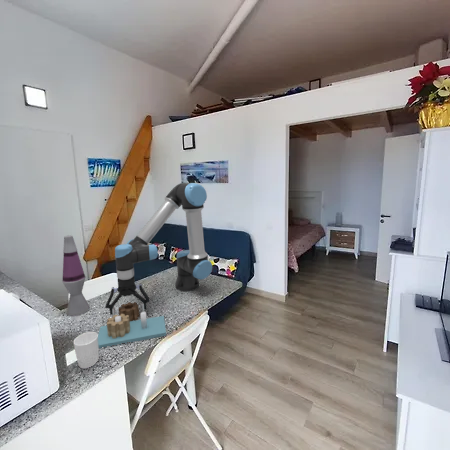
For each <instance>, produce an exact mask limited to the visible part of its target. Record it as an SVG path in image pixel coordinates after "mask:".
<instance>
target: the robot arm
mask: <svg viewBox="0 0 450 450" xmlns="http://www.w3.org/2000/svg"><path fill="white" fill-rule="evenodd" d="M207 197H208V195H207V191H206V188H205V187H204V186H203V185H201V184H199V183H195V182H181V183H178V184H177V185H175V186H174V187H173V188H172V189H170V192H169V193H168V194H167V195H165V197H164V201H163V202H162V204H161V205H160V206H159V207H158V209H157V210H156V211H155V212H154V213H153V215H152V216H151V217H150V219H149V220H148V221H147V222H146V223H145V225H144V226H143V227H142V228H141V230H140V231H139V232H138V233H137V235H136V236H134V238H132V239H130V240H128V241H127V243H126V244H125V243H122V244H119V245H116V247H115V248H114V254H115V255H114V257H115V266H116V277H117V287H114V286H112V287H111V289H110V294H109V297H108V299H107V300H106V301H107V302H106V303H105V305H104V308H105V309H109V314H110V316H112V317H113V316H114V315H116V307H115V305H116V304H117V303H118V302H119V301H120V299H121V298H122V297H129V296H134V297H135V298H137V300H139V301H140V302H141V307H142V312H145V310H147V303H150V301H151V299H150V296H149V295H148V294H147V292H146V291H145V289H144V288H143V284H142V283H139V284H137V285H136V280H135V267H134V264H138V263H142V262H148V261H152V260H155V259H157V258H158V256H159V255H158V254H159V251H158V247H157V245H155V244H154V243H153V244H150V242H151V241H152V239H153V238H154V237H155V236H156V234H157V233H158V232H159V231H160V230H161V228H163V225H164V224H165V223H166V222H167V220H169V218H170V217H171V215H173V213H174V212H175V210H178V209H180V207H182V209H181V210H183V211H184V212H185V219H186V229H187V239H188V249H185V250H180V251H178V252H177V253H176V258H175V259H176V268H177V270H176V272H177V275H176V279H175V284H174V285H175V286H174V288H175V289H176V290H178V291H181V292H191V291H195V290H196V289H198V288H199V287H200V280H204V279H207V278H208V277H209V276H210V274H212V271H213V263H212V262H211V261H210V260H209V255H208V253H207V252H206V250H205V241H204V226H203V217H202V215H203V213H202V211H203V209H204V205H205V203H206V201H207ZM137 290H139V291H140V293H138V292H137ZM116 292H118V294H117V296H116V297H115V298H114V300H112V299H113V297H114V294H115V293H116ZM141 294H142V295H143V296H142V295H141ZM111 301H112V302H111Z"/></svg>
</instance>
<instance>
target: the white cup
mask: <svg viewBox="0 0 450 450" xmlns="http://www.w3.org/2000/svg"><path fill="white" fill-rule="evenodd" d="M98 334H99V333H98V332H95V331H87V332H84V333H81V334H80V335H78V336H77V337H75V338H74V340H73V347H74V352H75V355H76V356H75V357H76V360H77V364H78V367H79V368H80V369H84V370H85V369H89V367H90V368H91V366H92V367H93V365H94V364H95V363H96V362H97V361H98V362H99V360H98V359H100V355H99V351H100V349H99V345H98ZM98 362H97V363H98ZM97 363H96V364H97ZM96 364H95V365H96ZM95 365H94V366H95Z"/></svg>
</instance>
